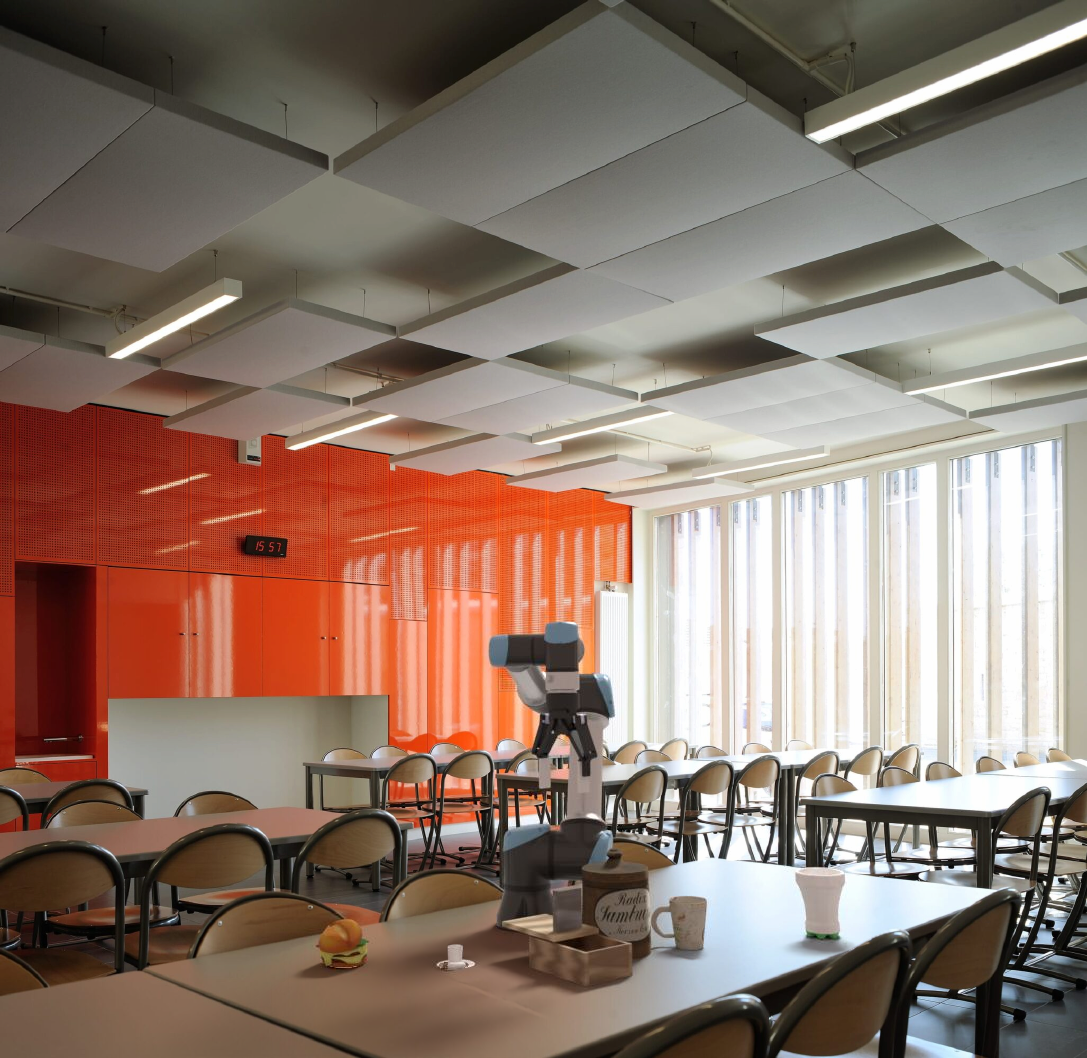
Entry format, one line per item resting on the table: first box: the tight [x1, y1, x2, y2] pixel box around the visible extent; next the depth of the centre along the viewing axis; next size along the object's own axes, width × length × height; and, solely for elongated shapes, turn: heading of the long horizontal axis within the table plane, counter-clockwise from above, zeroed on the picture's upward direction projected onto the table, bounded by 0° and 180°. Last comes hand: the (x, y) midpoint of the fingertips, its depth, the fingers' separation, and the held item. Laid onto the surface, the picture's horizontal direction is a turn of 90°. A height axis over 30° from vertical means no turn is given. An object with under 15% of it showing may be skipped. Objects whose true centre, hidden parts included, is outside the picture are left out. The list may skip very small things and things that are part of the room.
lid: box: [502, 886, 599, 942], centre depth 213 cm, size 18×12×9 cm, turn 38°
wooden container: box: [581, 847, 652, 960], centre depth 221 cm, size 15×15×22 cm
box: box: [528, 934, 634, 987], centre depth 204 cm, size 18×12×6 cm, turn 38°
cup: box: [794, 866, 846, 940], centre depth 234 cm, size 11×11×14 cm
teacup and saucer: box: [436, 944, 476, 971], centre depth 212 cm, size 9×8×4 cm
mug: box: [650, 895, 708, 951], centre depth 226 cm, size 8×13×10 cm, turn 78°
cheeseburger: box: [315, 918, 370, 967], centre depth 213 cm, size 10×11×10 cm
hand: (563, 790), depth 222 cm, fingers open, 13 cm apart
